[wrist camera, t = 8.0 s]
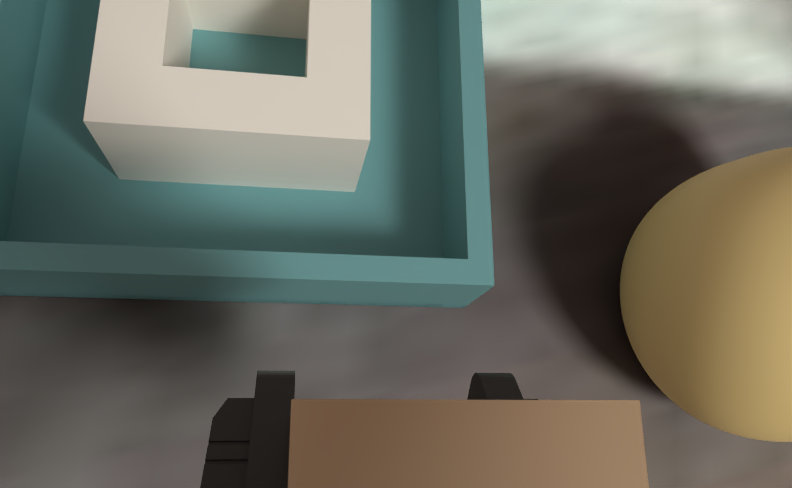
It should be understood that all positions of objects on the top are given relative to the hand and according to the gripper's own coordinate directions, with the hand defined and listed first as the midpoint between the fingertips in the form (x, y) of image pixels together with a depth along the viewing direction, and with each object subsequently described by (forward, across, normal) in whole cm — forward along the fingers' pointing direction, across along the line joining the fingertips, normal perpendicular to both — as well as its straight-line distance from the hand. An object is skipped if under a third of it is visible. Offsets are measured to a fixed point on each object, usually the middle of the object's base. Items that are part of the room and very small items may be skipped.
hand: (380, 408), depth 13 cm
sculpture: (+14, -18, +7) cm, 24 cm away
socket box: (+21, +4, 0) cm, 22 cm away
